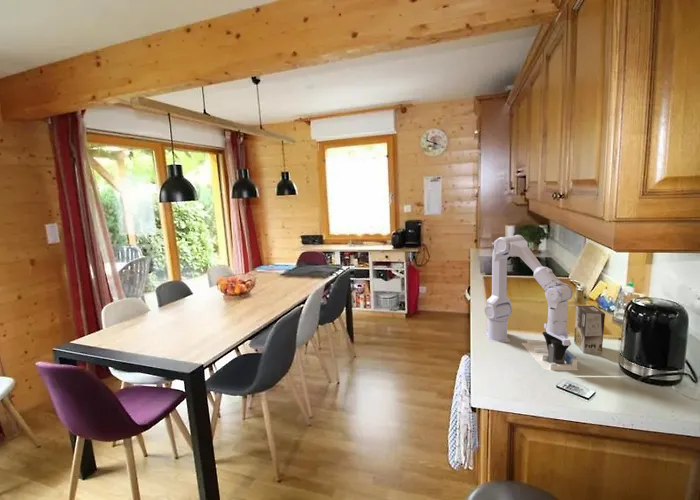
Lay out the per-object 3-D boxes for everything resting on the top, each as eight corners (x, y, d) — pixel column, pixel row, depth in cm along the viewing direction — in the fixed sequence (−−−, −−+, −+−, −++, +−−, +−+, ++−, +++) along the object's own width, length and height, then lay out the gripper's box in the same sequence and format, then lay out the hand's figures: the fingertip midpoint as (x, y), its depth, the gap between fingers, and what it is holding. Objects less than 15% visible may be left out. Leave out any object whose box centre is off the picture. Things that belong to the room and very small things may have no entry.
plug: (547, 361, 128) (548, 343, 126) (558, 361, 127) (560, 343, 126) (552, 366, 124) (553, 347, 123) (564, 366, 124) (565, 347, 122)
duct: (521, 344, 143) (521, 333, 142) (550, 344, 142) (550, 333, 141) (544, 371, 122) (545, 359, 121) (578, 371, 121) (579, 359, 120)
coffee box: (602, 355, 131) (606, 313, 128) (583, 354, 133) (586, 313, 130) (591, 344, 140) (594, 305, 137) (573, 343, 141) (575, 304, 138)
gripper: (581, 327, 115) (578, 366, 118) (559, 311, 129) (557, 346, 132) (558, 327, 116) (555, 366, 118) (538, 311, 130) (537, 346, 133)
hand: (555, 355), depth 125 cm, fingers open, 4 cm apart
